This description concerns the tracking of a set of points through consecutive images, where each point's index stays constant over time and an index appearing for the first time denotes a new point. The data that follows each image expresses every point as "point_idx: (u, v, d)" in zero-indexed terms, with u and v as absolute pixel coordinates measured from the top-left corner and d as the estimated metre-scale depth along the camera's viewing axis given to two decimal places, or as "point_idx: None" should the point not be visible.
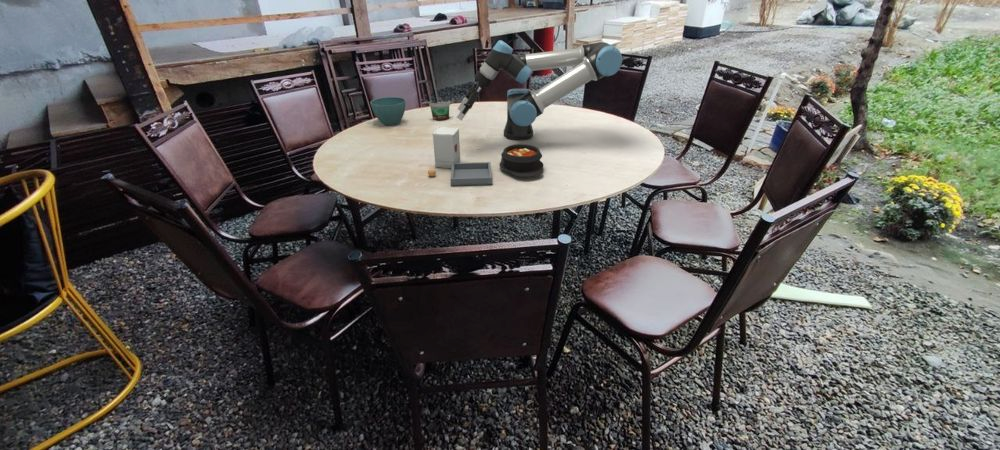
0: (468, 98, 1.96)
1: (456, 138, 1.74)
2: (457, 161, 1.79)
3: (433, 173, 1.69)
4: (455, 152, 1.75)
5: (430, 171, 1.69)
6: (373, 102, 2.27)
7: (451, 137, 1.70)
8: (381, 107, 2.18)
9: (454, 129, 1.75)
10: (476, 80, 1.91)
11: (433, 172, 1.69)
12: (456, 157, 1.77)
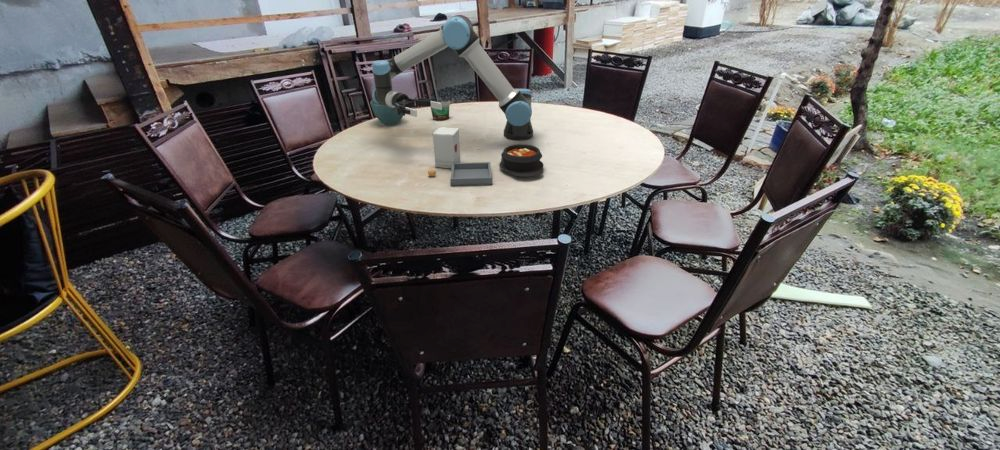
0: (431, 102, 1.84)
1: (456, 138, 1.74)
2: (457, 161, 1.79)
3: (433, 173, 1.69)
4: (455, 152, 1.75)
5: (430, 171, 1.69)
6: (373, 102, 2.27)
7: (451, 137, 1.70)
8: (381, 107, 2.18)
9: (454, 129, 1.75)
10: None
11: (433, 172, 1.69)
12: (456, 157, 1.77)
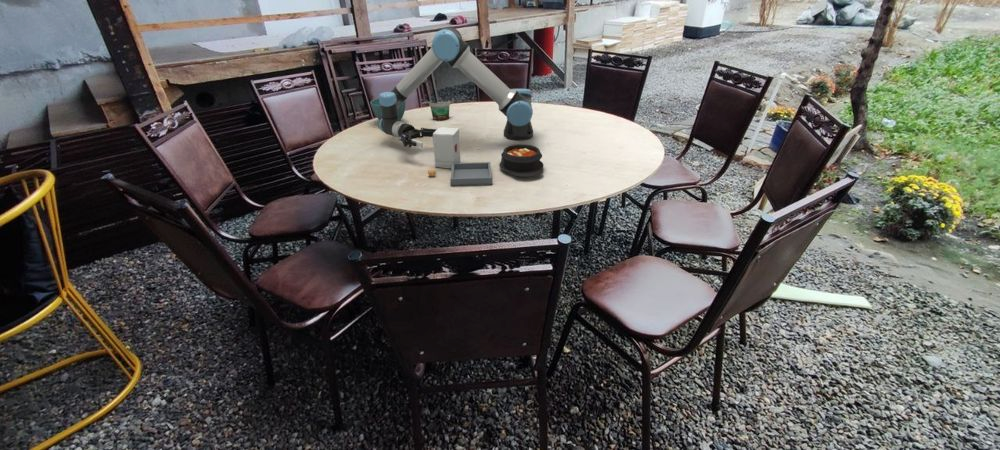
0: None
1: (456, 138, 1.74)
2: (457, 161, 1.79)
3: (433, 173, 1.69)
4: (455, 152, 1.75)
5: (430, 171, 1.69)
6: (373, 102, 2.27)
7: (451, 137, 1.70)
8: None
9: (454, 129, 1.75)
10: None
11: (433, 172, 1.69)
12: (456, 157, 1.77)
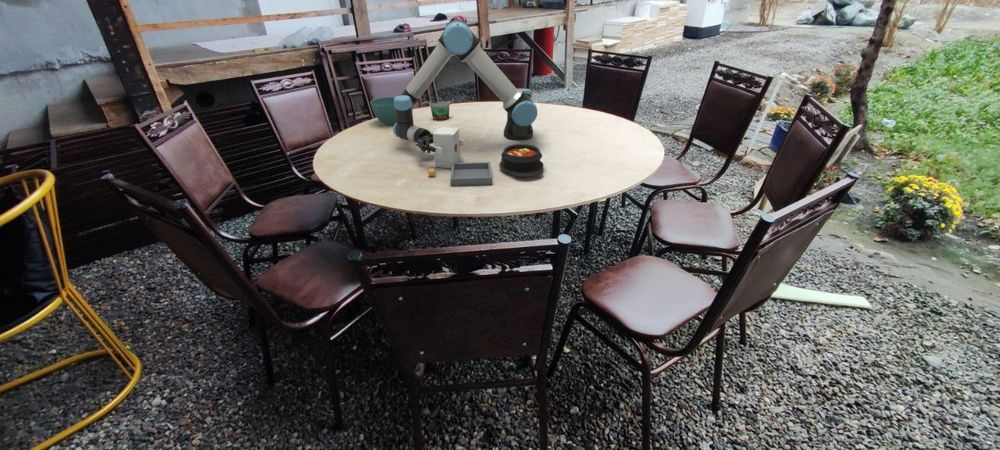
0: None
1: (456, 138, 1.74)
2: (457, 161, 1.79)
3: (433, 173, 1.69)
4: (455, 152, 1.75)
5: (430, 171, 1.69)
6: (373, 102, 2.27)
7: (451, 137, 1.70)
8: (381, 107, 2.18)
9: (454, 129, 1.75)
10: None
11: (433, 172, 1.69)
12: (456, 157, 1.77)
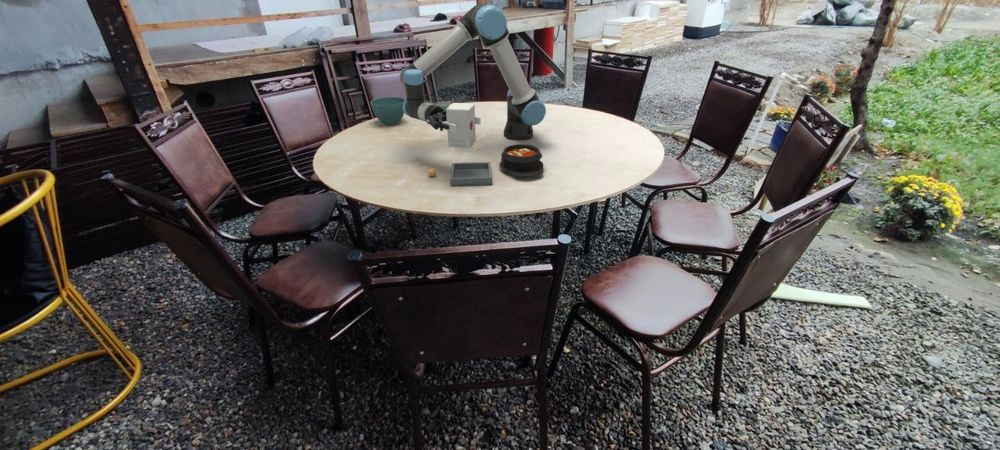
0: None
1: (472, 114, 1.58)
2: (472, 140, 1.63)
3: (433, 173, 1.69)
4: (470, 130, 1.59)
5: (430, 171, 1.69)
6: (373, 102, 2.27)
7: (466, 113, 1.54)
8: (381, 107, 2.18)
9: (469, 105, 1.59)
10: None
11: (433, 172, 1.69)
12: (471, 136, 1.61)
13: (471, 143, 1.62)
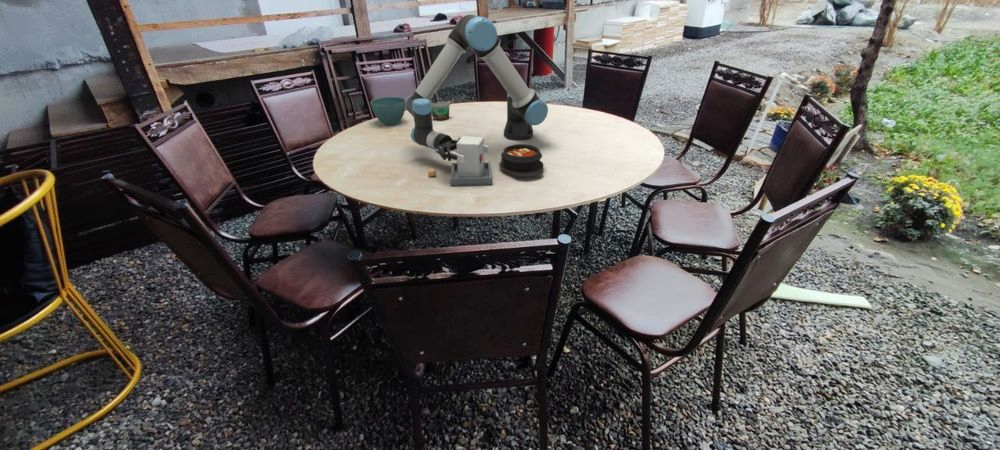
0: None
1: (481, 148, 1.63)
2: (481, 172, 1.68)
3: (433, 173, 1.69)
4: (480, 163, 1.63)
5: (430, 171, 1.69)
6: (373, 102, 2.27)
7: (476, 147, 1.59)
8: (381, 107, 2.18)
9: (479, 138, 1.64)
10: None
11: (433, 172, 1.69)
12: (481, 168, 1.65)
13: (480, 175, 1.66)
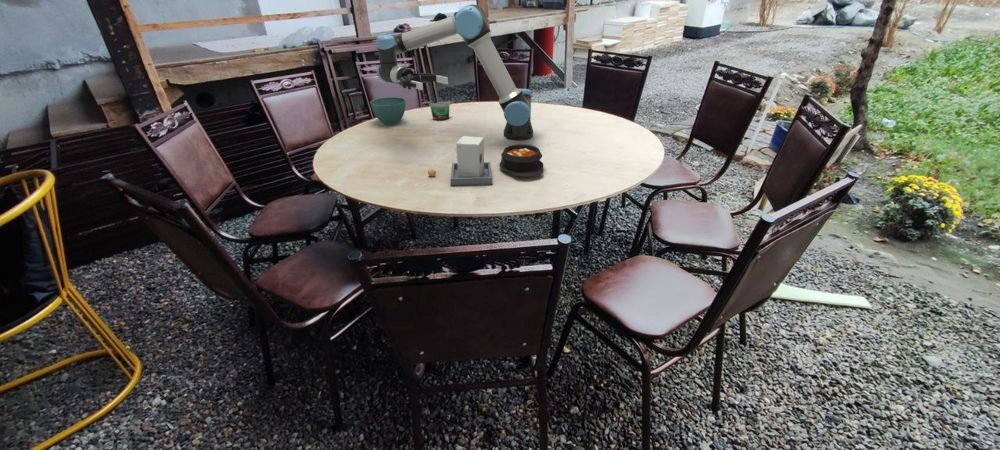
0: None
1: (481, 148, 1.63)
2: (481, 172, 1.68)
3: (433, 173, 1.69)
4: (480, 163, 1.63)
5: (430, 171, 1.69)
6: (373, 102, 2.27)
7: (476, 147, 1.59)
8: (381, 107, 2.18)
9: (479, 138, 1.64)
10: None
11: (433, 172, 1.69)
12: (481, 168, 1.65)
13: (480, 175, 1.66)
